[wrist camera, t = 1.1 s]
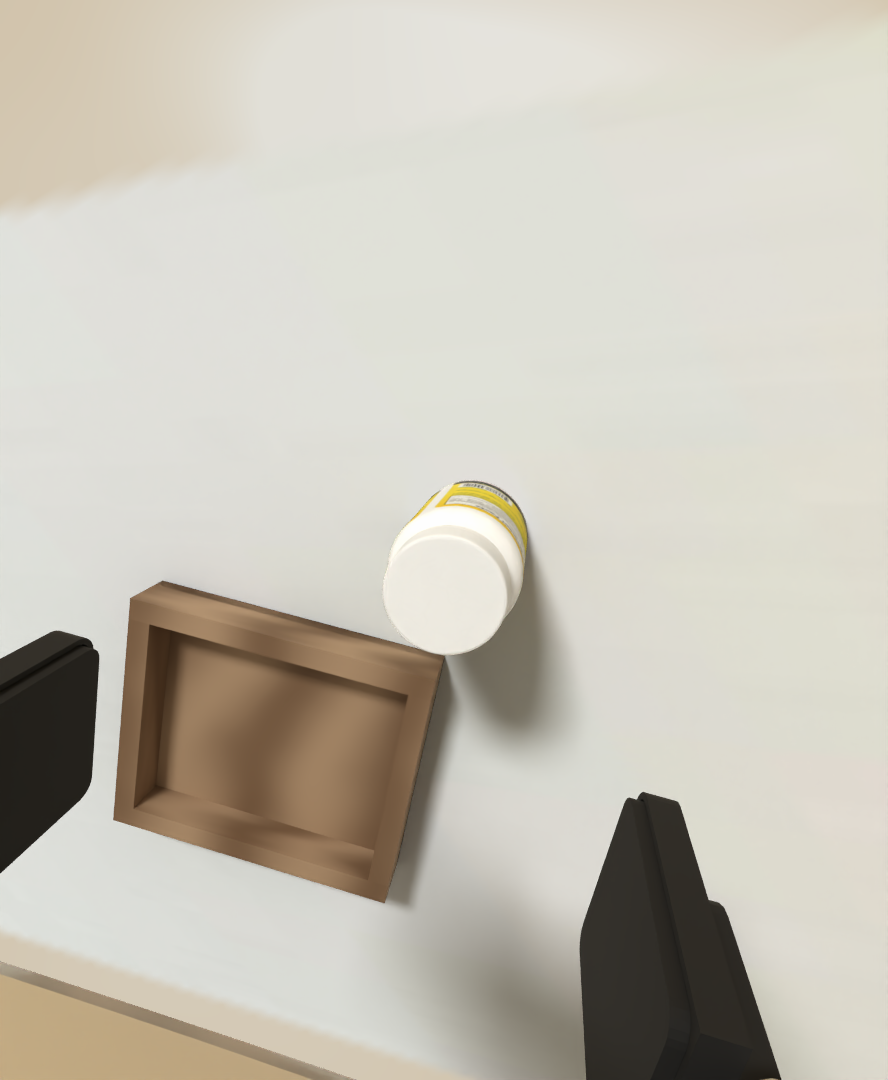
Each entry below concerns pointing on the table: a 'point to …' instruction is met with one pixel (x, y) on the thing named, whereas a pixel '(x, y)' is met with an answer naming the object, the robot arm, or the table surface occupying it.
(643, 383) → the table surface
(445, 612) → the supplement bottle
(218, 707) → the tray
